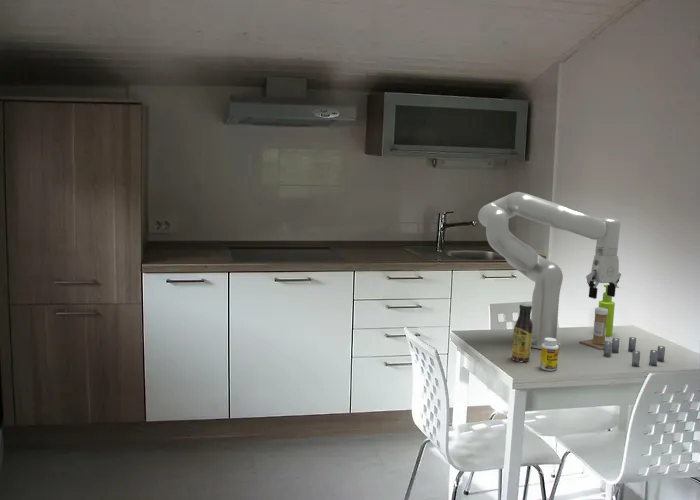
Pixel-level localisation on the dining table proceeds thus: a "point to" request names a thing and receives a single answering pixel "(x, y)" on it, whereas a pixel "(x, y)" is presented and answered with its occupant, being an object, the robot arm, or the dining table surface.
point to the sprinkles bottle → (600, 325)
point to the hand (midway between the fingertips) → (601, 297)
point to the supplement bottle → (549, 354)
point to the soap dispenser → (610, 306)
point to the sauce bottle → (522, 334)
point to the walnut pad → (591, 344)
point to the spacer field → (634, 352)
